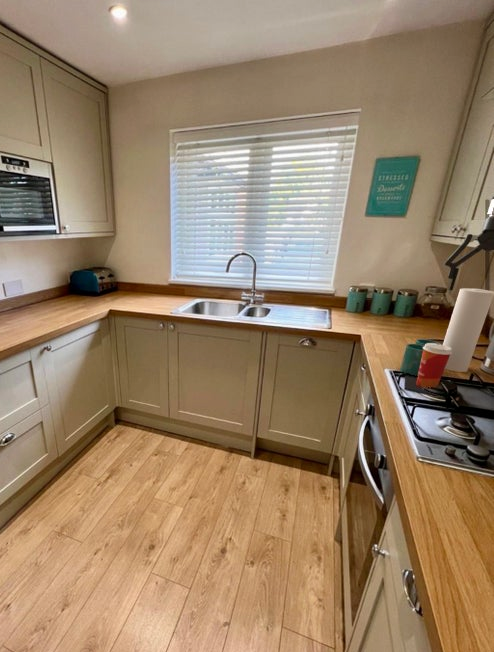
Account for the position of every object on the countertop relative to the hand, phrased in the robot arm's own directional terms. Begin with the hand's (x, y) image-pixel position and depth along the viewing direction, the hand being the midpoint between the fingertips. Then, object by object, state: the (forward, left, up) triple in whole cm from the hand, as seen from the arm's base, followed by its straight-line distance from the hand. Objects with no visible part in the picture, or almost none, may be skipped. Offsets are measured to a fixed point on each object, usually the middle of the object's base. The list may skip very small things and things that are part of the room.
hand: (478, 292), depth 99 cm
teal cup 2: (+7, -16, -32) cm, 36 cm away
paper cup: (+6, +5, -31) cm, 32 cm away
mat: (+6, +5, -32) cm, 33 cm away
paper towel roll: (-3, -23, -32) cm, 39 cm away
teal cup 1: (+10, -7, -32) cm, 34 cm away
